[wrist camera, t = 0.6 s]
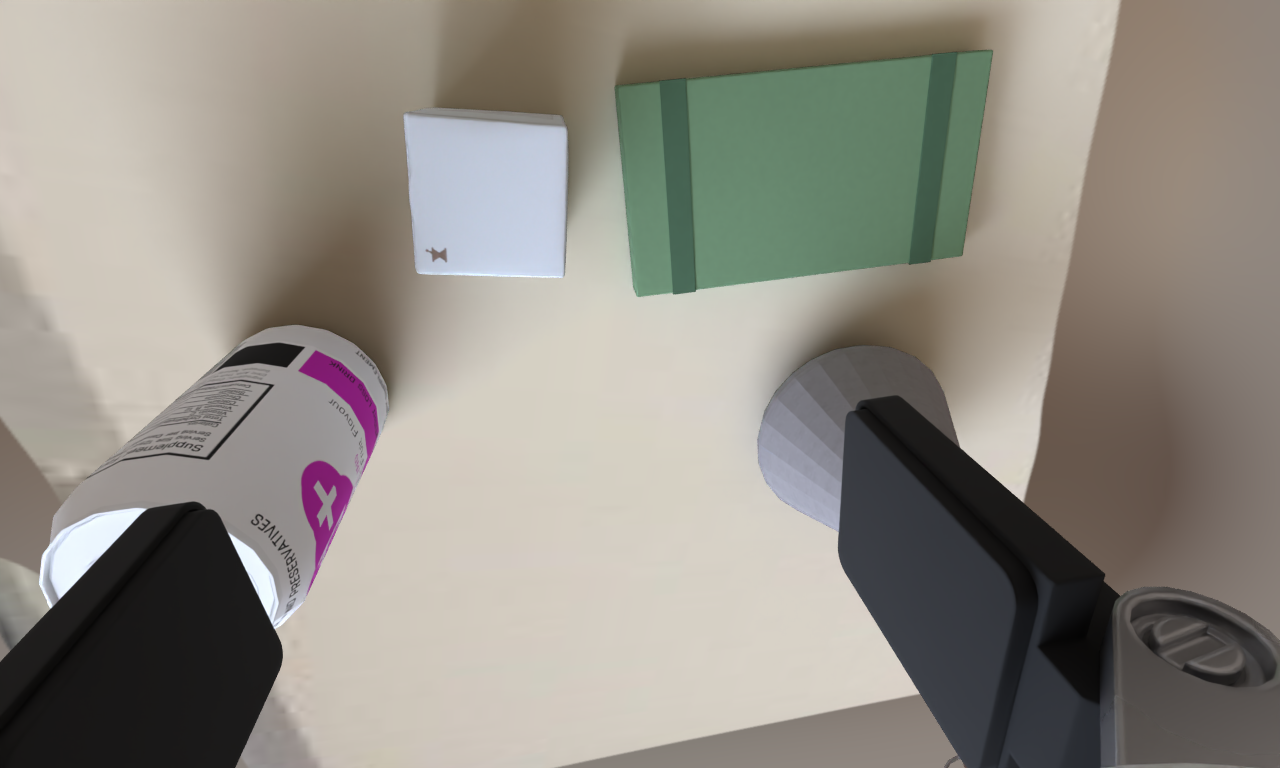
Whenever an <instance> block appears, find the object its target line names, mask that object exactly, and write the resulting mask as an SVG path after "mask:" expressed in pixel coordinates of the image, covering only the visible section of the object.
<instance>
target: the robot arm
mask: <svg viewBox="0 0 1280 768" xmlns="http://www.w3.org/2000/svg"><path fill="white" fill-rule="evenodd" d="M838 553H839V558H840V562H841V565H842V567H843V569H844V571H845V573H846V575H847V576H848V578H849V580H850V581H851V583H852V584H853V586H854V588H855V589H856V591H857V593H858V594H859V596H860V597H861V599H862V601H863V602H864V604H865V605H866V607H867V609H868V610H869V612H870V614H871V615H872V617H873V618H874V620H875V622H876V623H877V625H878V626H879V628H880V630H881V631H882V633H883V635H884V636H885V638H886V639H887V641H888V643H889V644H890V646H891V647H892V649H893V651H894V652H895V654H896V656H897V657H898V659H899V660H900V662H901V664H902V665H903V667H904V668H905V670H906V672H907V673H908V675H909V677H910V678H911V680H912V681H913V683H914V685H915V686H916V688H917V689H918V691H919V693H920V694H921V696H922V697H923V699H924V701H925V702H926V704H927V706H928V707H929V709H930V711H931V712H932V714H933V715H934V717H935V719H936V720H937V722H938V723H939V725H940V726H941V728H942V730H943V732H944V733H945V735H946V736H947V738H948V740H949V741H950V743H951V744H952V746H953V748H954V749H955V751H956V753H957V754H958V756H959V757H960V759H961V760H962V762H963V763H964V765H965V766H966V767H967V768H1280V640H1279V639H1278V638H1277V637H1276V636H1275V635H1274V634H1273V633H1272V632H1271V631H1270V630H1268V629H1267V628H1266V627H1264V626H1263V625H1261V624H1260V623H1258V622H1257V621H1255V620H1254V619H1252V618H1251V617H1249V616H1248V615H1247V614H1245V613H1243V612H1241V611H1239V610H1237V609H1235V608H1233V607H1231V606H1229V605H1227V604H1225V603H1222V602H1220V601H1218V600H1215V599H1212V598H1209V597H1206V596H1204V595H1201V594H1197V593H1194V592H1192V591H1186V590H1181V589H1175V588H1170V587H1141V588H1138V589H1134V590H1130V591H1127V592H1125V593H1124V594H1123V595H1122V596H1120V595H1119V594H1118V593H1116V592H1115V591H1114V590H1113V589H1112V588H1111V587H1110V586H1108V585H1107V584H1106V583H1105V582H1104V577H1105V573H1104V572H1102V571H1101V570H1100V569H1099V568H1098V567H1097V566H1095V565H1094V564H1093V563H1092V562H1091V561H1090V560H1088V559H1087V558H1086V557H1085V556H1084V555H1083V554H1082V553H1080V552H1079V551H1078V550H1077V549H1076V548H1074V547H1073V546H1072V545H1071V544H1070V543H1069V542H1068V541H1066V540H1065V539H1064V538H1063V537H1062V536H1061V535H1060V534H1059V533H1057V532H1056V531H1055V530H1054V529H1053V528H1051V527H1050V526H1049V525H1048V524H1047V523H1046V522H1045V521H1043V520H1042V519H1041V518H1040V517H1039V516H1038V515H1037V514H1036V513H1034V512H1033V511H1032V510H1031V509H1030V508H1029V507H1027V506H1026V505H1025V504H1024V503H1023V502H1022V501H1021V500H1019V499H1018V498H1017V497H1016V496H1015V495H1014V494H1012V493H1011V492H1010V491H1009V490H1008V489H1007V488H1006V487H1004V486H1003V485H1002V484H1001V483H1000V482H999V481H997V480H996V479H995V478H994V477H993V476H992V475H991V474H989V473H988V472H987V471H986V470H985V469H984V468H983V467H981V466H980V465H979V464H978V463H977V462H976V461H974V460H973V459H972V458H971V457H970V456H969V455H968V454H966V453H965V452H964V451H963V450H962V449H961V448H959V447H958V446H957V445H956V444H955V443H954V442H953V441H951V440H950V439H949V438H948V437H947V436H946V435H944V434H943V433H942V432H941V431H940V430H939V429H938V428H936V427H935V426H934V425H933V424H932V423H931V422H930V421H928V420H927V419H926V418H925V417H924V416H923V415H921V414H920V413H919V412H918V411H917V410H916V409H915V408H913V407H912V406H911V405H910V404H909V403H908V402H906V401H905V400H904V399H903V398H902V397H900V396H898V395H893V396H886V397H879V398H873V399H866V400H861V401H859V402H858V403H857V406H856V408H855V411H850V412H848V413H847V416H846V420H845V434H844V451H843V469H842V486H841V503H840V520H839V537H838ZM282 659H283V650H282V645H281V642H280V639H279V637H278V635H277V633H276V631H275V629H274V627H273V625H272V623H271V621H270V619H269V617H268V615H267V612H266V610H265V608H264V606H263V604H262V602H261V600H260V598H259V596H258V594H257V592H256V590H255V588H254V586H253V584H252V581H251V579H250V577H249V575H248V573H247V571H246V569H245V567H244V565H243V563H242V561H241V559H240V557H239V555H238V552H237V550H236V548H235V546H234V544H233V542H232V540H231V538H230V536H229V534H228V532H227V530H226V528H225V526H224V524H223V521H222V519H221V517H220V516H219V514H218V513H217V512H216V511H214V510H211V509H206V508H205V506H203V505H202V504H201V503H199V502H195V501H192V502H185V503H178V504H172V505H165V506H159V507H153V508H149V509H147V510H145V511H144V512H143V513H141V514H140V515H139V516H138V518H137V519H136V520H135V521H134V522H133V523H132V524H131V525H130V526H129V527H128V528H127V529H126V530H125V531H124V532H123V533H122V534H121V535H120V536H119V537H118V539H117V540H116V541H115V542H114V543H113V544H112V545H111V546H110V547H109V548H108V549H107V550H106V551H105V552H104V553H103V554H102V555H101V556H100V557H99V559H98V560H97V561H96V562H95V563H94V564H93V565H92V566H91V567H90V568H89V569H88V570H87V571H86V572H85V573H84V574H83V575H82V576H81V577H80V578H79V580H78V581H77V582H76V583H75V584H74V585H73V586H72V587H71V588H70V589H69V590H68V591H67V592H66V593H65V594H64V595H63V596H62V597H61V598H60V600H59V601H58V602H57V603H56V604H55V605H54V606H53V607H52V608H51V609H50V610H49V611H48V612H47V613H46V614H45V615H44V616H43V617H42V618H41V619H40V621H39V622H38V623H37V624H36V625H35V626H34V627H33V628H32V629H31V630H30V631H29V632H28V633H27V634H26V635H25V636H24V637H23V638H22V639H21V641H20V642H19V643H18V644H17V645H16V646H15V647H14V648H13V649H12V650H11V651H10V652H9V653H8V654H7V655H6V656H5V657H4V658H3V660H2V661H1V662H0V768H235V767H236V765H237V762H238V760H239V758H240V756H241V754H242V752H243V749H244V747H245V745H246V743H247V741H248V738H249V736H250V734H251V732H252V730H253V728H254V725H255V723H256V721H257V719H258V717H259V714H260V712H261V710H262V708H263V706H264V703H265V701H266V699H267V697H268V695H269V693H270V690H271V688H272V686H273V684H274V682H275V679H276V677H277V675H278V673H279V671H280V668H281V665H282Z"/></svg>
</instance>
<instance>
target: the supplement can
mask: <svg viewBox="0 0 1280 768" xmlns="http://www.w3.org/2000/svg"><path fill="white" fill-rule="evenodd" d="M388 412H389V402H388V392H387V385H386V383H385V382H384V380H383V378H382V376H381V374H380V372H379V370H378V368H377V366H376V364H375V363H374V362H373V361H372V360H371V359H370V358H369V357H368V356H367V355H366V354H365V353H364V352H362V351H361V350H360V349H359V348H358V347H357V346H356V345H355V344H354V343H352V342H350V341H348V340H346V339H344V338H342V337H340V336H338V335H336V334H334V333H332V332H330V331H328V330H324V329H318V328H313V327H307V326H302V325H289V326H281V327H273V328H267V329H265V330H263V331H261V332H259V333H257V334H255V335H253V336H251V337H249V338H248V339H246V340H244V341H242V342H241V343H240V344H239V345H238V346H237V347H235V348H234V349H233V350H232V351H231V352H230V353H229V354H227V355H226V356H225V357H224V358H223V359H222V360H221V361H220V362H218V363H217V364H216V365H215V366H214V367H213V368H212V369H210V370H209V371H208V372H207V373H206V374H205V375H204V376H202V377H201V378H200V379H199V380H198V381H197V382H196V383H194V384H193V385H192V386H191V387H190V388H189V389H188V390H187V391H185V392H184V393H183V394H182V395H181V396H180V397H179V398H177V399H176V400H175V401H174V402H173V403H172V404H171V405H169V406H168V407H167V408H166V409H165V410H164V411H163V412H161V413H160V414H159V415H158V416H157V417H156V418H155V419H154V420H152V421H151V422H150V423H149V424H148V425H147V426H146V427H144V428H143V429H142V430H141V431H140V432H139V433H138V434H136V435H135V436H134V437H133V438H132V439H131V440H130V441H128V442H127V443H126V444H125V445H124V446H123V447H122V448H121V449H119V450H118V451H117V452H116V453H115V454H114V455H113V456H111V457H110V458H109V459H108V460H107V461H106V462H105V463H103V464H102V465H101V466H100V467H99V468H98V469H97V470H95V471H94V472H93V473H92V474H91V475H90V476H89V477H88V478H86V479H85V480H84V481H83V482H82V483H81V484H80V485H78V486H77V487H76V488H75V489H74V490H73V492H72V493H71V494H70V496H69V497H68V498H67V499H66V501H65V502H64V503H63V505H62V506H61V507H60V509H59V510H58V511H57V512H56V514H55V515H54V516H53V523H52V531H51V539H50V546H49V547H48V548H47V549H46V551H45V552H44V553H43V555H42V562H41V571H40V580H39V584H40V586H41V589H42V591H43V593H44V596H45V598H46V600H47V602H48V605H49V607H50V609H51V608H52V607H53V606H54V605H55V604H56V603H57V602H58V601H59V600H60V598H61V597H62V596H63V595H64V594H65V593H66V592H67V591H68V590H69V589H70V588H71V587H72V586H73V585H74V584H75V583H76V582H77V581H78V580H79V578H80V577H81V576H82V575H83V574H84V573H85V572H86V571H87V570H88V569H89V568H90V567H91V566H92V565H93V564H94V563H95V562H96V561H97V560H98V559H99V557H100V556H101V555H102V554H103V553H104V552H105V551H106V550H107V549H108V548H109V547H110V546H111V545H112V544H113V543H114V542H115V541H116V540H117V539H118V537H119V536H120V535H121V534H122V533H123V532H124V531H125V530H126V529H127V528H128V527H129V526H130V525H131V524H132V523H133V522H134V521H135V520H136V519H137V518H138V516H139V515H140V514H141V513H143V512H144V511H145V510H147V509H149V508H153V507H159V506H165V505H172V504H178V503H185V502H192V501H195V502H199V503H201V504H202V505H203V506H205V508H206V509H211V510H214V511H216V512H217V513H218V514H219V516H220V517H221V519H222V521H223V524H224V526H225V528H226V530H227V532H228V534H229V536H230V538H231V540H232V542H233V544H234V546H235V548H236V550H237V552H238V555H239V557H240V559H241V561H242V563H243V565H244V567H245V569H246V571H247V573H248V575H249V577H250V579H251V581H252V584H253V586H254V588H255V590H256V592H257V594H258V596H259V598H260V600H261V602H262V604H263V606H264V608H265V610H266V612H267V615H268V617H269V619H270V621H271V623H272V625H273V627H274V629H275V628H277V627H279V626H280V625H282V624H283V623H284V622H285V621H286V620H287V619H288V618H289V617H290V616H291V615H292V614H293V613H294V612H295V610H296V609H297V608H298V607H299V606H300V605H301V604H302V603H303V602H304V601H305V598H306V596H307V594H308V592H309V590H310V588H311V585H312V583H313V581H314V579H315V577H316V574H317V572H318V570H319V568H320V566H321V563H322V561H323V559H324V557H325V555H326V553H327V550H328V548H329V546H330V544H331V542H332V539H333V537H334V535H335V533H336V531H337V529H338V526H339V524H340V522H341V520H342V518H343V515H344V513H345V511H346V509H347V507H348V504H349V502H350V500H351V498H352V496H353V494H354V491H355V489H356V487H357V485H358V483H359V480H360V478H361V476H362V474H363V472H364V470H365V467H366V465H367V463H368V461H369V459H370V456H371V454H372V452H373V450H374V448H375V445H376V443H377V441H378V439H379V437H380V435H381V432H382V430H383V427H384V424H385V421H386V418H387V415H388Z"/></svg>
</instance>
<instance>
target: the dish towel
mask: <svg viewBox="0 0 1280 768" xmlns="http://www.w3.org/2000/svg"><path fill="white" fill-rule="evenodd" d="M992 55H993V50H977V51H965V52H950V53H940V54H932V55H924V56H914V57H903V58H893V59H883V60H873V61H862V62H852V63H842V64H831V65H821V66H811V67H801V68H790V69H780V70H770V71H760V72H749V73H739V74H729V75H718V76H708V77H698V78H688V79H686V78H683V79H672V80H662V81H657V82H647V83H636V84H626V85H616V86H615V96H616V107H617V118H618V128H619V139H620V150H621V161H622V171H623V182H624V193H625V203H626V214H627V225H628V236H629V246H630V257H631V268H632V278H633V288H634V290H635V293H636V295H637V297H642V296H650V295H658V294H666V293H673V294H681V293H689V292H696V290H698V289H706V288H713V287H721V286H729V285H737V284H745V283H753V282H761V281H769V280H777V279H785V278H793V277H800V276H808V275H816V274H824V273H832V272H840V271H848V270H856V269H864V268H872V267H880V266H887V265H895V264H903V263H909V264H918V263H926V262H931V260H935V259H943V258H951V257H959V256H962V254H963V248H964V241H965V234H966V228H967V221H968V214H969V208H970V201H971V194H972V188H973V181H974V175H975V168H976V161H977V155H978V148H979V141H980V135H981V128H982V121H983V115H984V108H985V102H986V95H987V88H988V82H989V75H990V68H991V62H992Z"/></svg>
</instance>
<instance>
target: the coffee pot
mask: <svg viewBox="0 0 1280 768" xmlns="http://www.w3.org/2000/svg"><path fill="white" fill-rule="evenodd" d="M893 395H898V396H900V397H902V398H903V399H904V400H905V401H906V402H908V403H909V404H910V405H911V406H912V407H913V408H915V409H916V410H917V411H918V412H919V413H920V414H921V415H923V416H924V417H925V418H926V419H927V420H928V421H930V422H931V423H932V424H933V425H934V426H935V427H936V428H938V429H939V430H940V431H941V432H942V433H943V434H944V435H946V436H947V437H948V438H949V439H950V440H951V441H953V442H954V443H955V444H956V445H957V446H958V447H959V448H960V446H959V443H958V439H957V436H956V432H955V429H954V426H953V422H952V419H951V415H950V412H949V408H948V405H947V402H946V398H945V395H944V391H943V389H942V388H941V386H940V384H939V382H938V381H937V379H936V377H935V375H934V374H933V372H932V371H931V370H930V369H929V368H928V367H927V366H925V365H924V364H923V363H922V362H921V361H920V360H918V359H917V358H916V357H914V356H912V355H909V354H907V353H904V352H902V351H899V350H897V349H894V348H891V347H882V346H870V345H859V346H853V347H847V348H841V349H835V350H833V351H830V352H828V353H826V354H823V355H821V356H818V357H816V358H814V359H812V360H810V361H809V362H807V363H806V364H805V365H803V366H802V367H800V368H799V369H798V370H796V371H795V372H793V373H792V374H791V375H790V376H789V377H788V378H787V379H786V381H785V382H784V383H783V384H782V385H781V386H780V387H779V388H778V389H777V390H776V392H775V393H774V395H773V397H772V399H771V401H770V402H769V404H768V406H767V408H766V410H765V411H764V415H763V419H762V423H761V427H760V431H759V435H758V462H759V465H760V468H761V471H762V473H763V476H764V479H765V481H766V483H767V484H768V486H769V487H770V488H771V489H772V491H773V492H774V493H775V494H776V495H777V497H778V498H779V499H780V500H782V501H783V502H785V503H786V504H788V505H790V506H791V507H793V508H794V509H796V510H798V511H799V512H801V513H803V514H805V515H807V516H809V517H811V518H813V519H815V520H817V521H819V522H821V523H823V524H825V525H826V526H828V527H830V528H832V529H834V530H836V531H838V532H839V520H840V503H841V486H842V469H843V451H844V434H845V420H846V416H847V413H848V412H850V411H855V408H856V406H857V403H858V402H859V401H861V400H866V399H873V398H879V397H886V396H893ZM958 759H960V757H959V756H955V757H953V758H952V759H950V760H949V761H948V762H947V763H946V765H945V768H948V767H949V765H950V764H951V763H953V762H955V761H956V760H958ZM963 764H964V763H963ZM964 767H965V768H967V767H966V766H965V765H964Z"/></svg>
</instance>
